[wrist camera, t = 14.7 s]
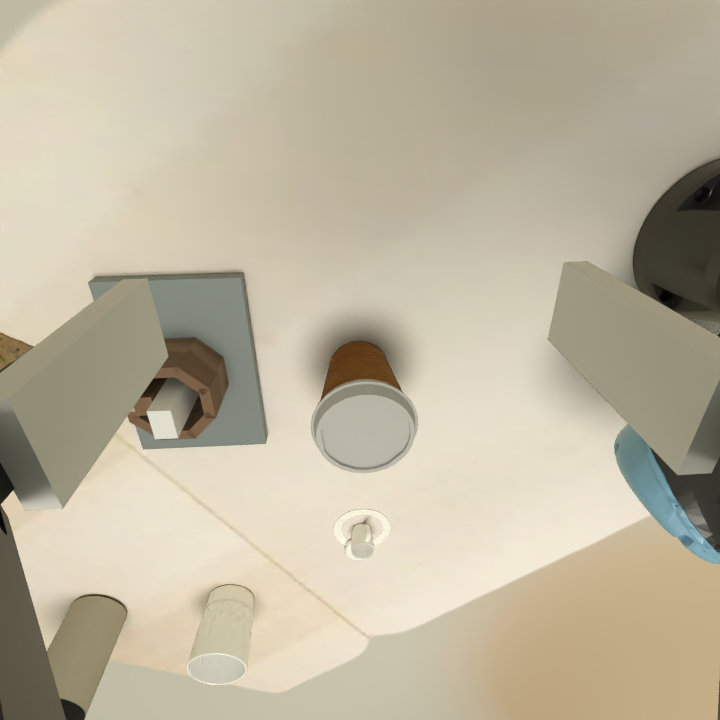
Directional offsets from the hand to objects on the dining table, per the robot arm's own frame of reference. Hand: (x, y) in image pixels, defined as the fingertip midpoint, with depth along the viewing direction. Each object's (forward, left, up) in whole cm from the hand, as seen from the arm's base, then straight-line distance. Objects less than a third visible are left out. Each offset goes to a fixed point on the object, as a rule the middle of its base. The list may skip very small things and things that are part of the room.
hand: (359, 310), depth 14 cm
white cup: (+19, +59, -29) cm, 68 cm away
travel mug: (+39, +60, -29) cm, 77 cm away
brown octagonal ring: (+17, +18, -27) cm, 36 cm away
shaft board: (+17, +18, -29) cm, 38 cm away
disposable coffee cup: (-1, +19, -29) cm, 34 cm away
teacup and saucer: (+2, +46, -29) cm, 54 cm away
